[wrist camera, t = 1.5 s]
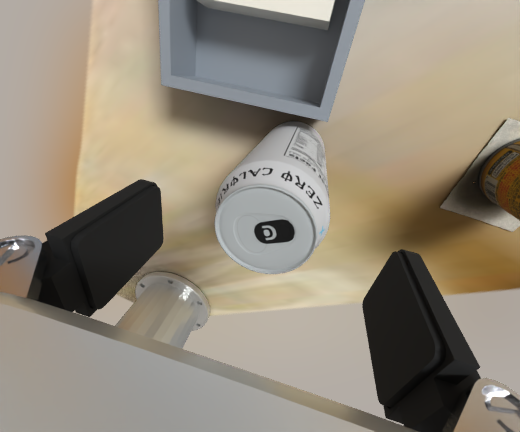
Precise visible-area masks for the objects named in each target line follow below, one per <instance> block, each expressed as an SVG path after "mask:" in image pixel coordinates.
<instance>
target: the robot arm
mask: <svg viewBox="0 0 520 432" xmlns="http://www.w3.org/2000/svg"><path fill="white" fill-rule="evenodd" d="M45 235H46V237H47V241H46V242H44V243H42V242H41V241H40V240H39V239H38V238H35V237H32V236H13V237H7V238H3V239H0V432H520V395H518V394H517V393H516V392H514V391H513V390H512V389H510V388H509V387H507V386H506V385H504V384H502V383H500V382H498V381H495V380H492V379H487V378H483V379H481V378H480V376H479V374H478V372H477V369H479V368H480V366H479V364H478V363H477V360H476V358H475V357H474V355H473V353H472V351H471V349H470V347H469V345H468V344H467V342H466V340H465V338H464V336H463V334H462V332H461V330H460V329H459V327H458V325H457V323H456V321H455V319H454V318H453V316H452V314H451V312H450V310H449V308H448V306H447V304H446V303H445V301H444V299H443V297H442V295H441V293H440V291H439V290H438V288H437V286H436V284H435V282H434V280H433V278H432V276H431V275H430V273H429V271H428V269H427V267H426V265H425V263H424V262H423V260H422V258H421V256H420V255H419V254H417V253H414V252H410V251H406V250H403V249H401V250H399V251H398V252H393V253H392V254H391V256H390V257H389V259H388V261H387V262H386V264H385V265H384V267H383V269H382V270H381V272H380V274H379V275H378V277H377V278H376V280H375V282H374V283H373V285H372V286H371V288H370V290H369V291H368V293H367V294H366V296H365V298H364V300H363V313H364V319H365V325H366V331H367V337H368V342H369V349H370V354H371V360H372V366H373V372H374V378H375V384H376V390H377V396H378V400H379V402H380V404H382V405H384V410H385V416H386V418H388V419H390V420H393V421H396V422H399V423H402V424H404V426H402V425H399V424H396V423H394V422H391V421H388V420H385V419H382V418H380V417H377V416H374V415H372V414H369V413H366V412H364V411H361V410H358V409H355V408H352V407H349V406H346V405H344V404H341V403H338V402H335V401H332V400H329V399H326V398H323V397H320V396H318V395H314V394H312V393H309V392H306V391H303V390H300V389H297V388H295V387H292V386H289V385H286V384H283V383H280V382H277V381H274V380H272V379H269V378H266V377H263V376H260V375H257V374H254V373H251V372H248V371H245V370H242V369H239V368H236V367H234V366H231V365H228V364H225V363H222V362H219V361H216V360H213V359H210V358H207V357H204V356H201V355H198V354H195V353H193V352H189V351H187V350H183V349H182V348H183V346H184V344H185V342H186V340H187V338H188V336H189V334H190V332H191V331H194V330H197V329H199V328H201V327H203V326H204V325H205V323H206V322H207V320H208V318H209V315H210V306H209V303H208V301H207V299H206V297H205V296H204V294H203V293H202V292H201V291H200V289H199V288H198V287H196V286H195V285H194V284H193V283H191V282H190V281H188V280H187V279H185V278H183V277H181V276H178V275H175V274H172V273H167V272H152V273H149V274H147V275H145V276H144V277H143V278H142V279H141V280H140V281H139V282H138V283H137V286H136V289H135V294H136V298H137V300H136V301H135V303H134V304H133V305H132V306H131V307H130V309H129V310H128V311H127V312H126V314H125V315H124V316H123V317H122V318H121V319H120V321H119V322H118V323H117V324H116V325H115V326H112V325H109V324H106V323H103V322H100V321H97V320H94V319H92V318H89V317H90V316H91V315H92V314H93V313H94V312H95V311H96V310H97V309H101V308H103V307H104V306H105V305H106V304H107V303H108V302H109V301H110V300H111V299H112V298H113V297H114V296H115V295H116V294H117V292H118V291H119V290H120V289H121V288H122V287H123V286H124V285H125V284H126V283H127V282H128V281H129V280H130V279H131V278H132V277H133V276H134V275H135V273H136V272H137V271H138V270H139V269H140V268H141V267H142V266H143V265H144V264H145V263H146V262H147V261H148V260H149V259H150V258H151V257H152V256H153V254H154V253H155V252H156V251H157V250H158V249H159V248H160V247H161V245H162V243H163V224H162V207H161V191H160V188H159V187H157V185H156V183H154V182H150V181H146V180H142V179H140V180H138V181H136V182H134V183H133V184H131V185H129V186H127V187H126V188H124V189H122V190H120V191H119V192H117V193H115V194H113V195H112V196H110V197H108V198H106V199H105V200H103V201H101V202H99V203H98V204H96V205H94V206H92V207H90V208H89V209H87V210H85V211H83V212H82V213H80V214H78V215H76V216H75V217H73V218H71V219H69V220H68V221H66V222H64V223H62V224H61V225H59V226H57V227H55V228H54V229H52V230H50V231H48V232H47V233H45ZM74 310H75V311H76V312H77V313H79V314H82V315H79V314H76V313H73V311H74ZM83 315H85V316H83ZM86 316H88V317H86Z"/></svg>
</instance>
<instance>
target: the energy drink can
mask: <svg viewBox="0 0 520 432" xmlns="http://www.w3.org/2000/svg"><path fill="white" fill-rule="evenodd" d="M329 222H330V205H329V194H328V182H327V170H326V158H325V147H324V143H323V140H322V138H321V136H320V135H319V134H318V132H317V131H316V130H315V129H314V128H312V127H311V126H309V125H307V124H305V123H302V122H296V121H291V122H285V123H282V124H280V125H278V126H276V127H275V128H274V129H272V130H271V131H270V132H269V133H268V134H267V135H266V137H265V138H264V139H263V140H262V141H261V142H260V143H259V144H258V145H257V146H256V147H255V148H254V149H253V150H252V151H251V152H250V153H249V154H248V155H247V156H246V157H245V158H244V159H243V160H242V161H241V162H240V164H239V165H238V166H237V167H236V168H235V169H234V170H233V171H232V172H231V173H230V174H229V175H228V176H227V177H226V178H225V180H224V181H223V183H222V184H221V186H220V188H219V191H218V194H217V198H216V216H215V232H216V236H217V239H218V241H219V243H220V245H221V247H222V248H223V250H224V251H225V252H226V254H227V255H228V256H229V257H230V258H231V259H232V260H234V261H235V262H236V263H238V264H239V265H241V266H243V267H245V268H247V269H249V270H252V271H255V272H258V273H264V274H280V273H286V272H289V271H292V270H294V269H296V268H298V267H300V266H301V265H302V264H304V263H305V262H306V261H307V260H308V259H309V258H310V256H311V255H312V254H313V251H314V249H315V248H316V247H317V246H318V245H319V244H320V243H321V241H322V240H323V239H324V237H325V235H326V233H327V230H328V227H329Z"/></svg>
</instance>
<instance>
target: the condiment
mask: <svg viewBox="0 0 520 432" xmlns="http://www.w3.org/2000/svg"><path fill="white" fill-rule="evenodd" d="M473 182H475V183H473ZM440 208H442V209H445V210H449V211H452V212H455V213H458V214H461V215H464V216H468V217H471V218H474V219H477V220H481V221H483V222H486V223H488V224H491V225H494V226H498V227H501V228H503V229H506V230H509V231H512V232H513V231H514V230H515V229H516V228H518V227H519V226H520V121H517V120H514V119H511V118H508V119H507V121H506V122H505V123H504V124H503V126H502V127H501V128H500V129H499V131H498V132H497V133H496V134H495V136H494V137H493V138H492V139H491V140H490V142H489V143H488V145H487V146H486V147H485V148H484V149H483V151H482V152H481V153H480V154H479V156H478V158H477V159H476V160H475V161H474V162H473V164H472V165H471V167H470V168H469V169H468V171H467V173H466V174H465V176H464V177H463V178H462V179H461V180H460V181H459V183H458V184H457V185H456V186H455V188H454V189H453V190H452V192H451V193H450V195H449V196H448V198H447V199H446V200H445V201H444V203H443V204H442V205H441V206H440Z"/></svg>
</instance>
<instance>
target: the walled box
mask: <svg viewBox="0 0 520 432" xmlns="http://www.w3.org/2000/svg"><path fill="white" fill-rule="evenodd" d="M364 2H365V0H158V4H159V33H160V61H161V85H163V86H168V87H172V88H177V89H181V90H186V91H190V92H195V93H200V94H204V95H209V96H213V97H218V98H222V99H227V100H231V101H236V102H240V103H245V104H249V105H254V106H258V107H263V108H267V109H272V110H276V111H281V112H285V113H290V114H294V115H299V116H303V117H308V118H312V119H317V120H321V121H326V122H328V119H329V116H330V113H331V110H332V106H333V103H334V100H335V96H336V93H337V90H338V87H339V83H340V80H341V77H342V74H343V70H344V67H345V64H346V61H347V57H348V54H349V51H350V48H351V44H352V41H353V38H354V34H355V31H356V28H357V25H358V21H359V18H360V15H361V12H362V8H363V5H364Z"/></svg>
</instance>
